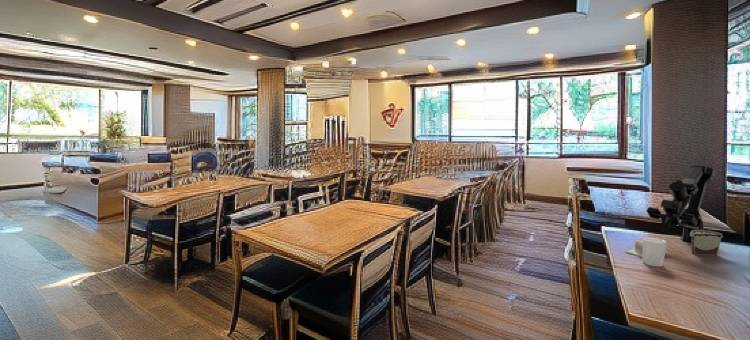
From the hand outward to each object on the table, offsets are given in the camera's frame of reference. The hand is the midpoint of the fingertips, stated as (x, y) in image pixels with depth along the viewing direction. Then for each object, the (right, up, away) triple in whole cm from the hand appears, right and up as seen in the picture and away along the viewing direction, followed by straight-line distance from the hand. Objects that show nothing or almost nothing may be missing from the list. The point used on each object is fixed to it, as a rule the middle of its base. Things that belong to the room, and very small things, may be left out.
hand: (662, 230), depth 173 cm
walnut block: (-3, -6, -1) cm, 7 cm away
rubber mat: (-11, -10, -4) cm, 15 cm away
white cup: (-17, -11, -17) cm, 26 cm away
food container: (+16, -10, -2) cm, 19 cm away
